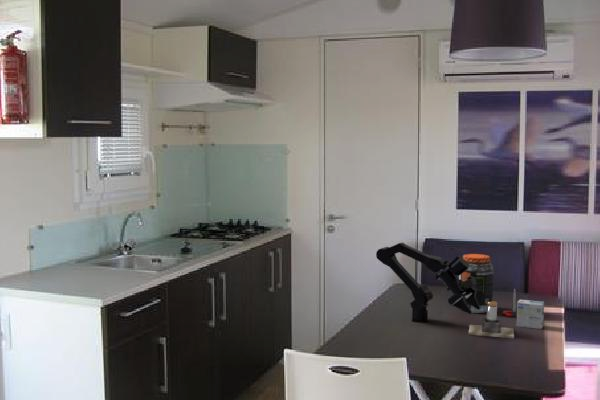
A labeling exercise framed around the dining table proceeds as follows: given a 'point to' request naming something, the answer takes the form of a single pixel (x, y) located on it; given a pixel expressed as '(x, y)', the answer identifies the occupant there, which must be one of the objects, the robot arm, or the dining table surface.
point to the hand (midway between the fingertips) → (475, 311)
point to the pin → (492, 311)
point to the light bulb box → (530, 314)
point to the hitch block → (491, 329)
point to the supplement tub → (479, 279)
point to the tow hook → (513, 312)
